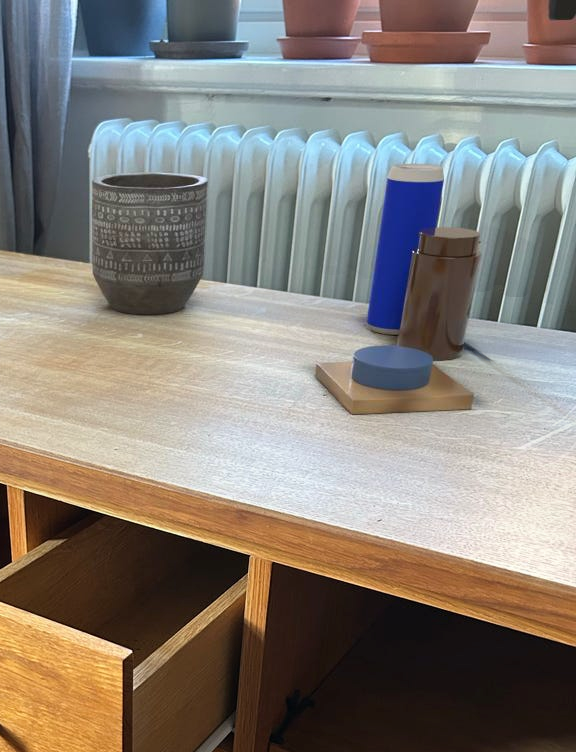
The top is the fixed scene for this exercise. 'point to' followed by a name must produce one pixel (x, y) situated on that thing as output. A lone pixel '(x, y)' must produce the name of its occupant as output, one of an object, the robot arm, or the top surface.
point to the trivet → (392, 392)
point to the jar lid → (391, 367)
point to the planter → (148, 239)
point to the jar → (440, 291)
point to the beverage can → (401, 238)
